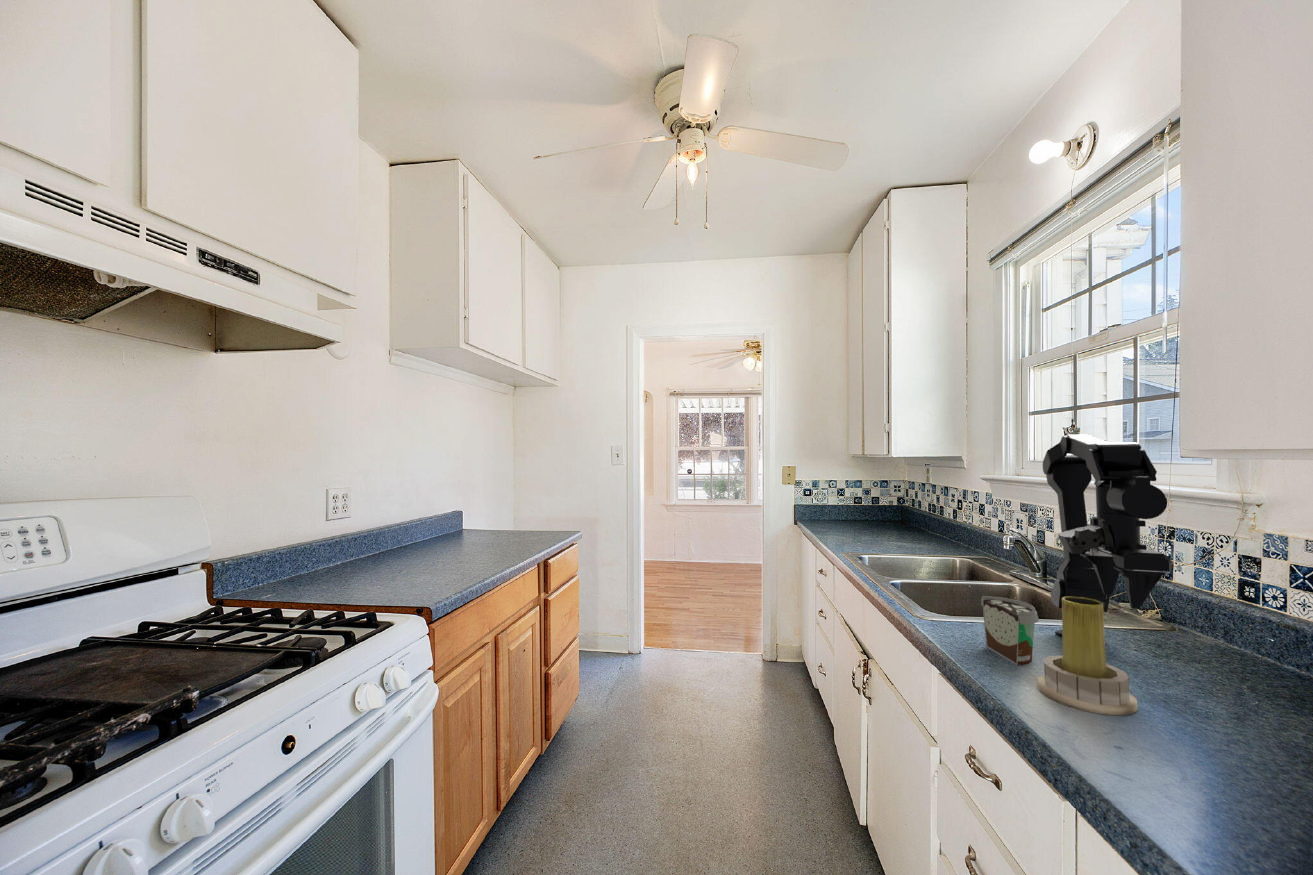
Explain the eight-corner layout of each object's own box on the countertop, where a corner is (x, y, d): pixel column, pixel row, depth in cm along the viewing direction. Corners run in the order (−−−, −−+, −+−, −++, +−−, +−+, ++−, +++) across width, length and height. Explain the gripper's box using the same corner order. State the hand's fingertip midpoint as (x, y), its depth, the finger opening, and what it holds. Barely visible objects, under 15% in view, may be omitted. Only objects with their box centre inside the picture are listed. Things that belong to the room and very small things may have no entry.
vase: (1113, 690, 84) (1110, 600, 84) (1105, 702, 80) (1101, 608, 80) (1066, 678, 88) (1063, 593, 89) (1056, 688, 85) (1053, 600, 85)
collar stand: (1062, 674, 92) (1061, 648, 92) (1153, 704, 81) (1152, 674, 81) (1021, 688, 87) (1020, 661, 87) (1112, 722, 76) (1111, 691, 76)
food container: (1056, 668, 95) (1055, 613, 95) (1022, 668, 95) (1020, 613, 95) (1012, 644, 107) (1010, 595, 108) (981, 644, 107) (980, 595, 108)
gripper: (1043, 506, 104) (1046, 585, 103) (1086, 517, 86) (1090, 612, 86) (1112, 508, 100) (1115, 589, 100) (1171, 519, 83) (1175, 618, 82)
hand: (1120, 601), depth 92 cm, fingers open, 9 cm apart
